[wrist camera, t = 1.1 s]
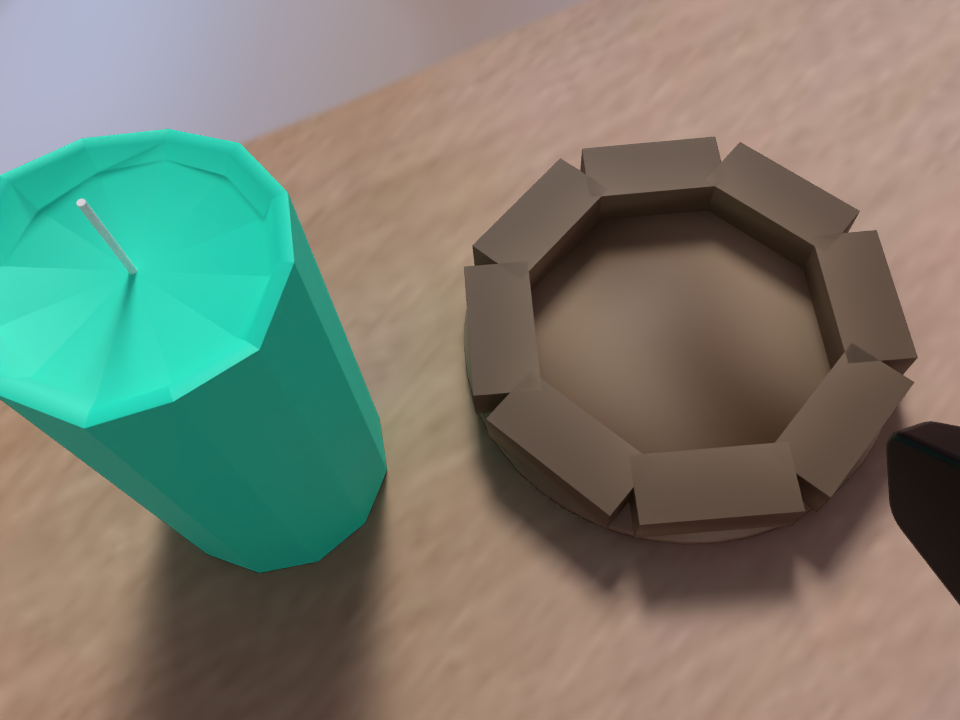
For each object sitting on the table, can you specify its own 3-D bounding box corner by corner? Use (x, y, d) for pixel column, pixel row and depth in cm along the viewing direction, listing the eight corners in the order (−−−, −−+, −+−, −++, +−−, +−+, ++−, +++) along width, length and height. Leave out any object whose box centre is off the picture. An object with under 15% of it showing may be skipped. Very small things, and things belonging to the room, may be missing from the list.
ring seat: (730, 643, 22) (744, 632, 20) (379, 363, 26) (370, 337, 24) (970, 312, 25) (996, 282, 24) (630, 111, 29) (635, 75, 28)
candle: (126, 493, 24) (-195, 253, 14) (267, 331, 26) (84, 10, 16) (293, 619, 23) (75, 455, 12) (430, 434, 25) (351, 152, 14)
